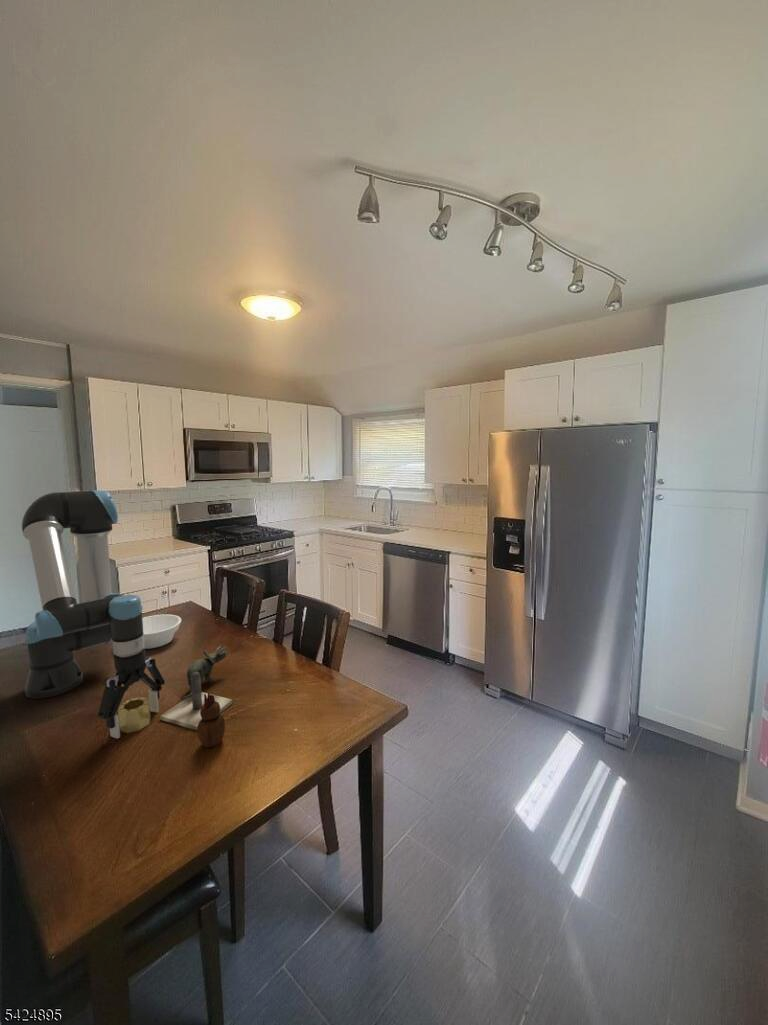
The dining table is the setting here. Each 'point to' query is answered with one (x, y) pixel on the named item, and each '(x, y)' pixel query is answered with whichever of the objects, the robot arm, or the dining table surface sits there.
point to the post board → (192, 706)
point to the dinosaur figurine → (205, 666)
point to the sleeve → (134, 714)
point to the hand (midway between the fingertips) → (135, 723)
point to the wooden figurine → (210, 723)
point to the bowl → (159, 629)
